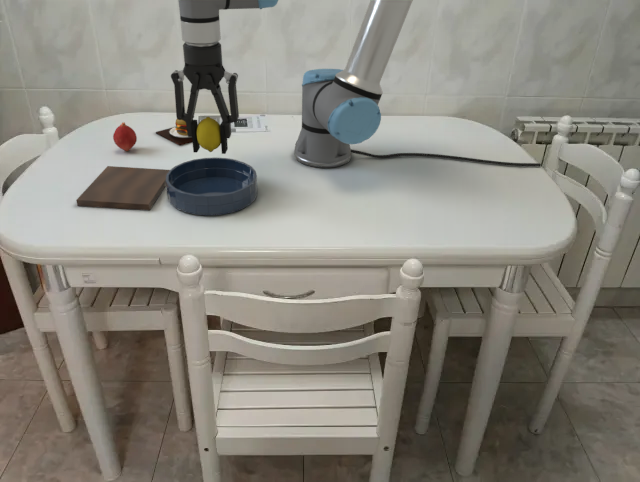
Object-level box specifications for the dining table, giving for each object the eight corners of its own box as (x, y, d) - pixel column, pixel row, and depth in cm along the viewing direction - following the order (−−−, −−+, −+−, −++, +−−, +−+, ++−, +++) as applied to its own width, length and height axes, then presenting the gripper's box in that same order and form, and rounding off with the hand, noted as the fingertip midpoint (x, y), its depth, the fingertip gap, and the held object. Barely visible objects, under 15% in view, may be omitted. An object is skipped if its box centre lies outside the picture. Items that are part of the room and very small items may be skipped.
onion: (110, 152, 147) (105, 123, 143) (125, 145, 152) (120, 116, 147) (129, 156, 145) (124, 127, 141) (142, 149, 150) (138, 120, 146)
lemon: (218, 158, 121) (215, 122, 116) (194, 155, 122) (190, 120, 117) (227, 148, 125) (224, 114, 121) (203, 145, 126) (200, 111, 122)
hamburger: (191, 124, 167) (189, 106, 164) (215, 135, 160) (214, 117, 157) (155, 133, 160) (153, 115, 157) (179, 145, 153) (177, 126, 150)
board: (172, 175, 137) (172, 169, 136) (149, 210, 122) (148, 204, 121) (108, 171, 137) (107, 165, 137) (77, 206, 122) (76, 199, 121)
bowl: (262, 178, 137) (262, 160, 135) (249, 219, 120) (248, 198, 118) (181, 174, 138) (179, 155, 135) (156, 213, 121) (153, 192, 118)
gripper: (251, 39, 114) (255, 146, 126) (161, 36, 114) (173, 142, 127) (244, 48, 107) (249, 159, 120) (149, 44, 108) (164, 155, 120)
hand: (210, 150), depth 123 cm, fingers closed on lemon, 6 cm apart
